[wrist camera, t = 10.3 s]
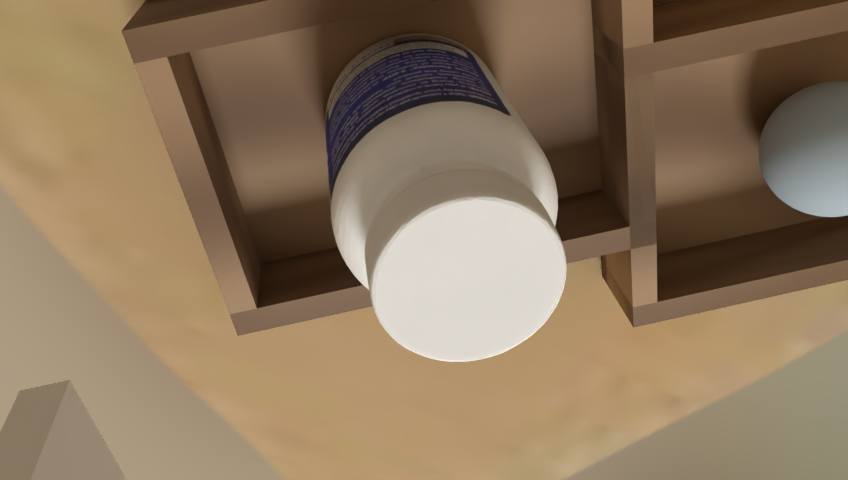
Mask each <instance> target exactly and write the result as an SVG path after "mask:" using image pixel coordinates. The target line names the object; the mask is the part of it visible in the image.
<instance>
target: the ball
mask: <svg viewBox="0 0 848 480" xmlns="http://www.w3.org/2000/svg"><path fill="white" fill-rule="evenodd" d="M758 150H759V164H760V168H761V171H762V174H763V177H764V179H765V181H766V183H767V184H768V186H769V188H770V189H771V190H772V191H773V193H774V194H775V195H776V196H777V197H778V198H779V199H781V200H782V201H783V202H784V203H786V204H787V205H789V206H791V207H792V208H794V209H796V210H799V211H801V212H804V213H806V214H811V215H815V216H821V217H840V216H847V215H848V82H847V81H831V82H824V83H820V84H816V85H812V86H809V87H807V88H804V89H802V90H800V91H798V92H797V93H795V94H793V95H792V96H790V97H789V98H787V99H786V100H785V101H783V102H782V103H781V104H780V105H779V106H778V107H777V108H776V109H775V111H774V112H773V113H772V114H771V116H770V117H769V119H768V120H767V122H766V124H765V126H764V129H763V131H762V134H761V138H760V142H759V149H758Z"/></svg>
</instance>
